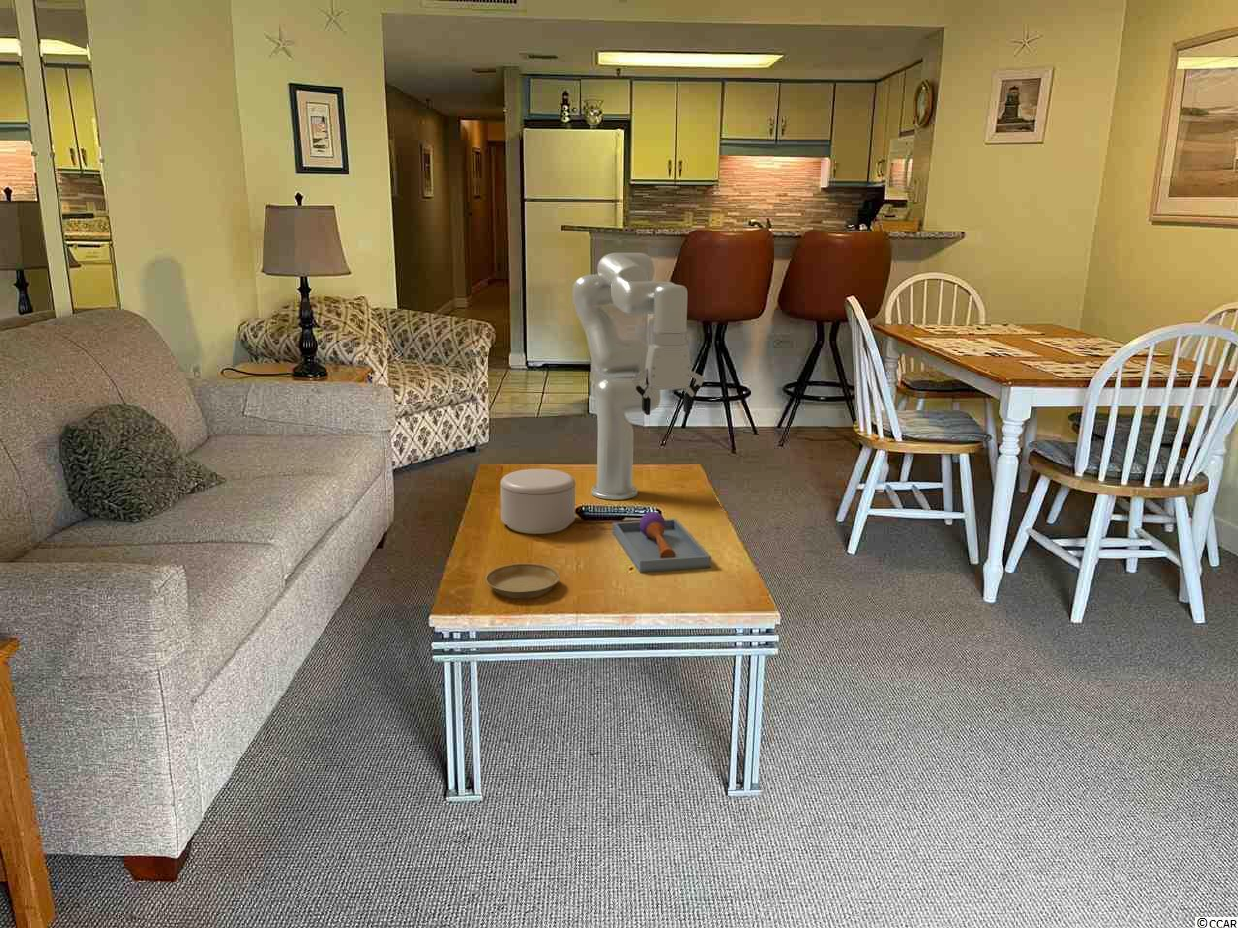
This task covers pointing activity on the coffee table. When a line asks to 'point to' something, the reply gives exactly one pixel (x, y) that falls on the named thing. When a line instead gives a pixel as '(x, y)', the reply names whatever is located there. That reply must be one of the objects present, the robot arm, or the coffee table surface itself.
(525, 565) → the plant saucer
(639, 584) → the coffee table surface
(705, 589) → the coffee table surface
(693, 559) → the tray
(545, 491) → the container
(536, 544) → the coffee table surface
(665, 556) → the kendama
